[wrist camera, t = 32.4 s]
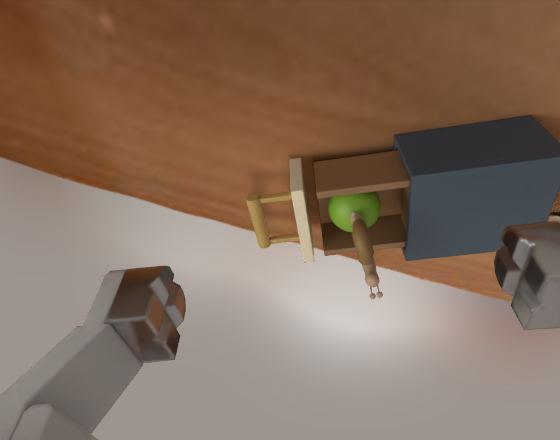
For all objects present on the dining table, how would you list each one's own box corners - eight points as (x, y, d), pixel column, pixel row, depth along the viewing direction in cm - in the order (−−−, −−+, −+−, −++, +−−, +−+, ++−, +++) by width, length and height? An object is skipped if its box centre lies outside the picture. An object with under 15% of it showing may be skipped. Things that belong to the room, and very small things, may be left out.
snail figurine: (335, 220, 45) (348, 305, 36) (319, 178, 41) (330, 262, 32) (381, 208, 44) (407, 293, 35) (370, 163, 40) (395, 247, 31)
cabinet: (391, 216, 47) (405, 261, 42) (394, 134, 40) (412, 176, 34) (505, 202, 46) (536, 247, 40) (531, 115, 38) (573, 155, 33)
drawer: (262, 233, 48) (261, 267, 44) (244, 165, 41) (240, 198, 37) (404, 215, 46) (417, 250, 42) (409, 142, 39) (424, 174, 35)
